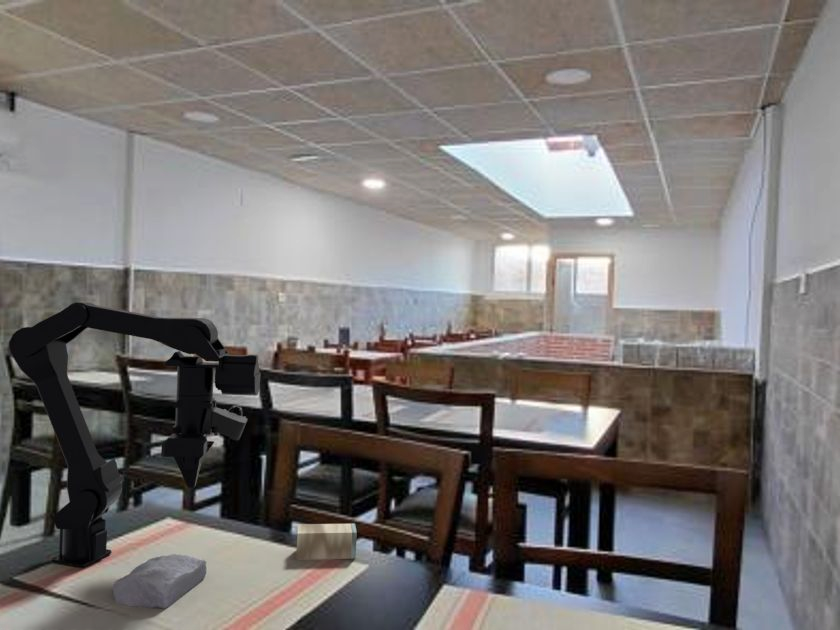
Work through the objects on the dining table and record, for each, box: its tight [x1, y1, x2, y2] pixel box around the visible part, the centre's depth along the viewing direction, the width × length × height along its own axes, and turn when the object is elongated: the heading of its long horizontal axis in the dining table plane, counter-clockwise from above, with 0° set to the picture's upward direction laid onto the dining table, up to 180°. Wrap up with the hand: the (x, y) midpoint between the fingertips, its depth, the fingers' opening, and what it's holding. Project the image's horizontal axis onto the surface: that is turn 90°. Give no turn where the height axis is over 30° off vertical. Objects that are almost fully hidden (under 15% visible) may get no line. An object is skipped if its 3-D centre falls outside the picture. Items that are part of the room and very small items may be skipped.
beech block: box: [296, 523, 358, 561], centre depth 112 cm, size 4×4×10 cm
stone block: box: [112, 553, 207, 610], centre depth 96 cm, size 12×5×10 cm
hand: (191, 487), depth 107 cm, fingers closed
